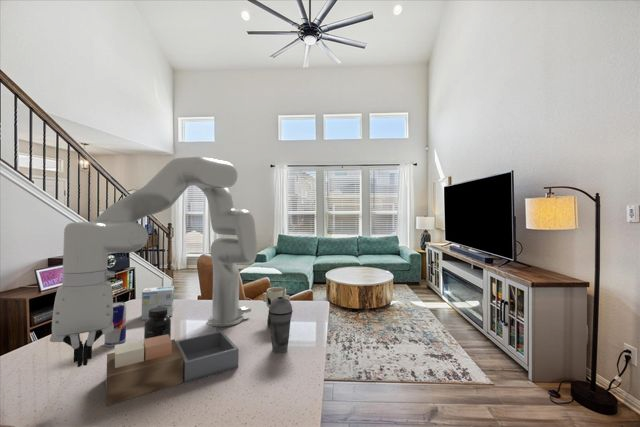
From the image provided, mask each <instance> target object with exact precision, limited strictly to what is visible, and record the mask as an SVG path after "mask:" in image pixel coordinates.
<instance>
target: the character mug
mask: <svg viewBox="0 0 640 427" xmlns="http://www.w3.org/2000/svg"><path fill="white" fill-rule="evenodd" d="M283 288H284V287H281V286H280V287H279V286H275V287H273V286H272V287H269V288H267V289H266V292H263V293H262V302H264V303H266V307H267V308H268V309H269V307H270V304H271V302H272V301H273V300H274V299H276V298H278V297H282V296H283ZM284 298H286V299H288V300H289V301H290V302H291V296H290V295H289V294H287V289H286V288H285V294H284ZM266 324H267V326H269V327H271V324H270V317H269V312H268V314H267V321H266Z"/></svg>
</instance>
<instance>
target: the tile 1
mask: <svg viewBox="0 0 640 427" xmlns="http://www.w3.org/2000/svg"><path fill="white" fill-rule="evenodd" d="M114 352H115V368H118V367H122V366H126V365H130V364H134V363H138V362H142V361H144V345H143V339H138V340H135V341H128V342H124V343H123V344H118V345H115V346H114Z"/></svg>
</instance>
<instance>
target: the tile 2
mask: <svg viewBox="0 0 640 427" xmlns="http://www.w3.org/2000/svg"><path fill="white" fill-rule="evenodd" d="M171 340H172V339H170V337H169V335H168V334H167V335H162V336H157V337H152V338H147V339H144V338H143V339H142V341H143V345H144V357H145V361H146V360H150V359H154V358H158V357H162V356H166V355H170V354H172V341H171Z"/></svg>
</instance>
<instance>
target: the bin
mask: <svg viewBox="0 0 640 427" xmlns="http://www.w3.org/2000/svg"><path fill="white" fill-rule="evenodd" d="M175 341H176V343H177V345H178V347H179V349H180V351H181V353H182V355H183V357H184V358H183V383H184V385H187V384H189V383H193V382H197V381H199V380H202V379H206V378H209V377H212V376H215V375H219V374H222V373H226V372H229V371H232V370H235V369H238V368H239V347H238V346H237V345H236V344H235V343H234V342H233V340H231V339H230V338H229V337H228V336H227V334H226V333H225V332H224V331H223V330H219V331H215V332H212V333H211V332H210V333H206V334H202V335H196V336H192V337H189V338H183V339H179V340H175Z"/></svg>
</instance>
